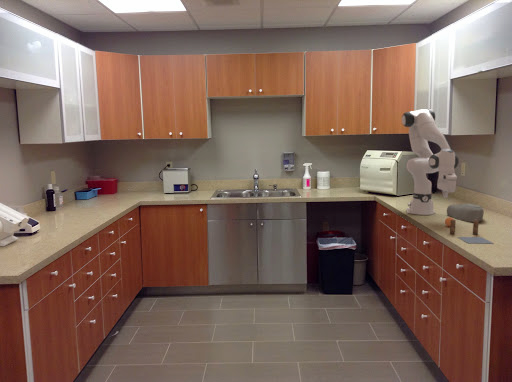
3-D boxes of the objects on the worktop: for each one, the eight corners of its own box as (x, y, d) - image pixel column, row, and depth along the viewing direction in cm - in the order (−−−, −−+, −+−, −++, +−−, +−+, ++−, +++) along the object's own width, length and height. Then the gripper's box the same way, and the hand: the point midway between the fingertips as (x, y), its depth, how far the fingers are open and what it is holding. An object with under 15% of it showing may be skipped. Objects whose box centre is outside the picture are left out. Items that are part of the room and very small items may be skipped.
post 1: (448, 233, 247) (449, 219, 246) (453, 233, 247) (454, 219, 246) (450, 234, 245) (451, 220, 244) (455, 234, 245) (456, 220, 244)
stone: (494, 210, 272) (460, 208, 274) (492, 226, 274) (458, 224, 276) (477, 201, 299) (446, 199, 301) (475, 215, 301) (445, 213, 304)
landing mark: (457, 237, 239) (457, 236, 239) (481, 237, 238) (481, 237, 238) (467, 243, 226) (467, 243, 226) (493, 243, 225) (493, 243, 225)
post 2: (471, 233, 247) (472, 219, 246) (476, 233, 247) (477, 219, 246) (473, 234, 244) (474, 220, 243) (478, 234, 244) (479, 220, 243)
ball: (443, 225, 269) (443, 216, 268) (452, 225, 268) (452, 216, 268) (446, 227, 263) (447, 218, 262) (456, 227, 263) (456, 218, 262)
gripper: (435, 174, 281) (434, 195, 283) (447, 177, 261) (446, 200, 263) (445, 174, 281) (444, 195, 283) (458, 177, 261) (457, 200, 263)
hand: (445, 197), depth 273 cm, fingers closed
